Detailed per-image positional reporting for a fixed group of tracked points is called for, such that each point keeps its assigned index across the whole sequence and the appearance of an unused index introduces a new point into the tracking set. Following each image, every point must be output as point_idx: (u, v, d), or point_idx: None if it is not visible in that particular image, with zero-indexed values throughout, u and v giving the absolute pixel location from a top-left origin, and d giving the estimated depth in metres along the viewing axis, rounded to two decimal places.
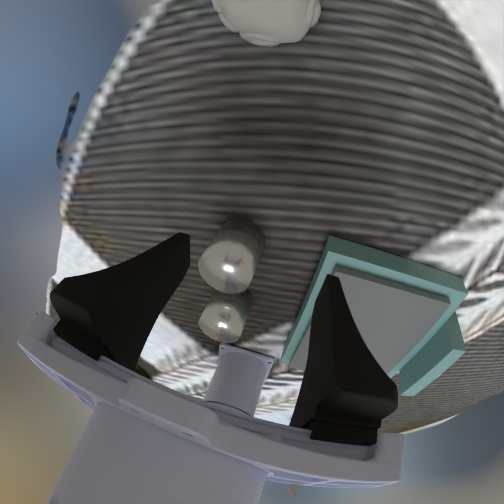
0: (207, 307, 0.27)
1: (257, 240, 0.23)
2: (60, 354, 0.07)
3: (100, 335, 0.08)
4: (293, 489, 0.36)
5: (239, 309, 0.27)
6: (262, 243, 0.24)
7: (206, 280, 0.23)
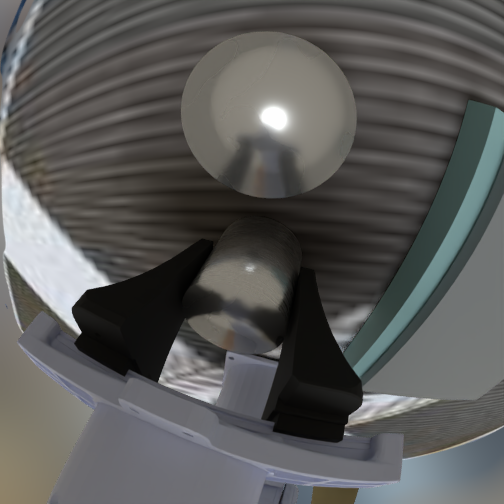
0: (203, 268, 0.11)
1: None
2: (60, 354, 0.07)
3: (130, 350, 0.08)
4: None
5: (282, 271, 0.11)
6: None
7: (202, 158, 0.07)
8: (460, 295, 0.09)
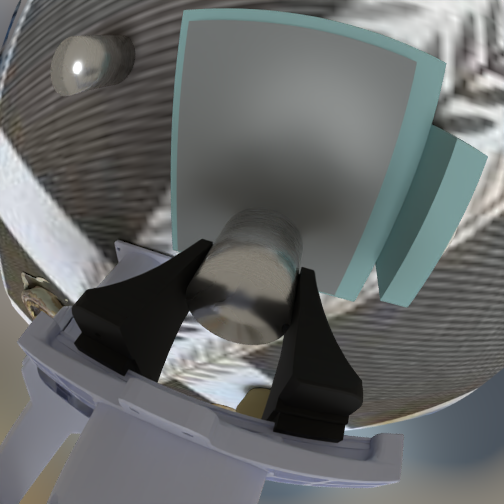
0: (205, 259, 0.11)
1: (118, 41, 0.13)
2: (60, 354, 0.07)
3: (129, 350, 0.08)
4: None
5: (283, 258, 0.11)
6: (125, 47, 0.14)
7: (55, 87, 0.12)
8: (190, 127, 0.14)
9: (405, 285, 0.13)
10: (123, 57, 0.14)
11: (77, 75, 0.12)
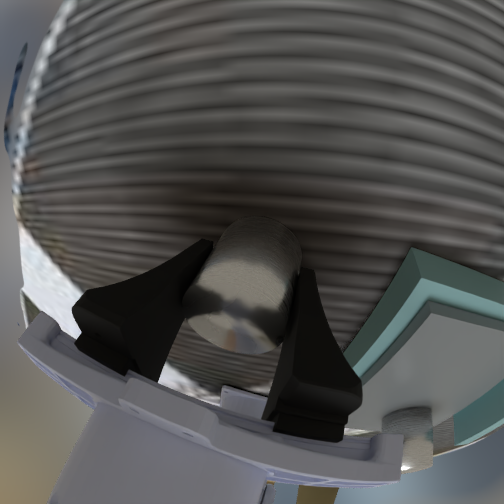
0: None
1: (293, 257, 0.12)
2: (60, 354, 0.07)
3: (130, 350, 0.08)
4: None
5: (432, 442, 0.13)
6: (299, 261, 0.13)
7: (198, 331, 0.12)
8: (379, 382, 0.14)
9: (471, 439, 0.13)
10: None
11: (256, 342, 0.11)
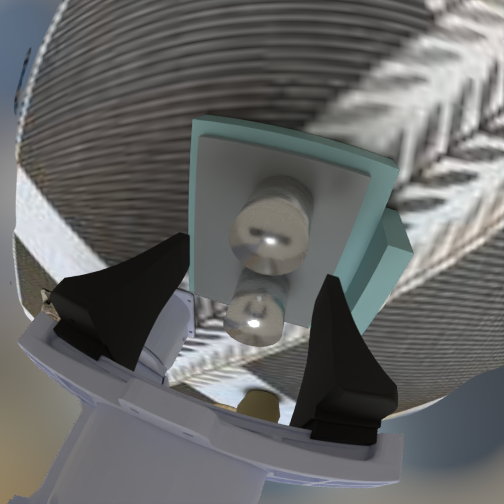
0: (244, 298, 0.20)
1: (308, 201, 0.17)
2: (60, 354, 0.07)
3: (100, 335, 0.08)
4: None
5: (283, 307, 0.21)
6: (312, 207, 0.17)
7: (239, 257, 0.16)
8: (203, 217, 0.21)
9: None
10: None
11: (285, 261, 0.16)
